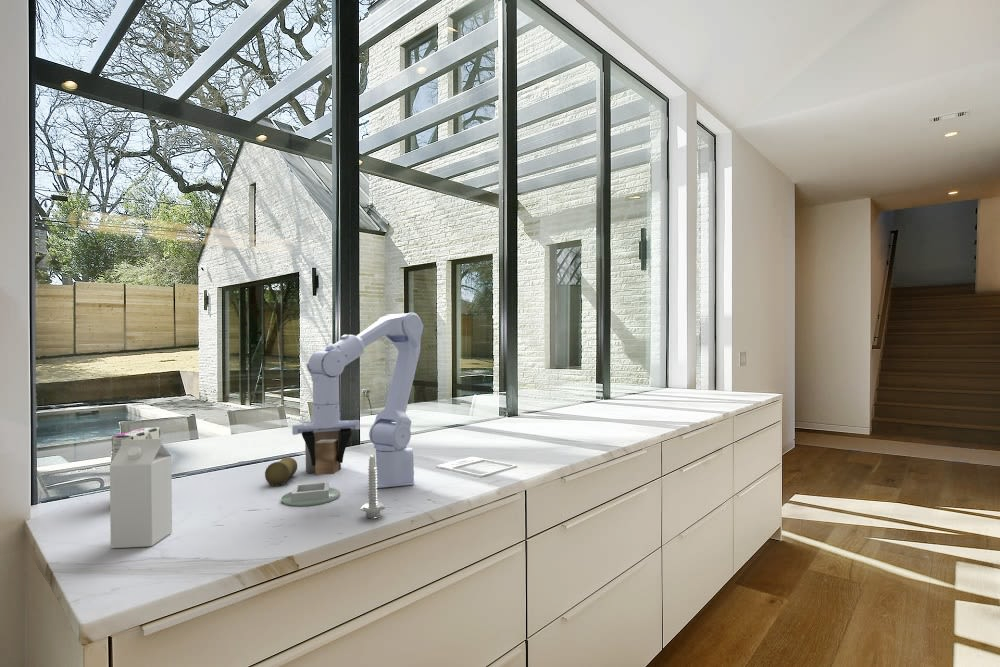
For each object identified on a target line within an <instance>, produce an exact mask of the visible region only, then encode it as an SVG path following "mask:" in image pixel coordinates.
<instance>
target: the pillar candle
mask: <svg viewBox="0 0 1000 667" xmlns="http://www.w3.org/2000/svg"><path fill="white" fill-rule="evenodd" d="M306 423H313V420H311V421H308V422H305V423H304V424H306ZM335 428H336V427H335ZM327 429H332V428H327ZM318 430H320V429H318ZM314 437H315V443H316V442H318V441H320V440H332V439H338V431H327V432H315V433H314ZM304 445H305V446H304V447H305V448H304V449H305V450H304V451H305V453H304V454H305V472H306V473H308V474H313V473H315V474H316V468H315V466H312V463H311V457H310V453H309V450H308V447H307V445H306V443H305V442H304ZM338 450H339V441H338ZM341 469H342V463H339V470H341Z"/></svg>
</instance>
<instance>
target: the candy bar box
mask: <svg viewBox="0 0 1000 667" xmlns="http://www.w3.org/2000/svg"><path fill="white" fill-rule="evenodd" d="M130 439H161V427H158V426H157V427H155V426H154V427H153V426H152V427H139V428H137V429H133V430H129V431H127V432H126V431H125V432H123V433H120V434H117V435H113V436H111V450H112V451H111V454H112V458H111V459H112V461H113V459H114V457H115V456H116V454H117V452H118V450H119V449H120V447H121V440H130ZM112 461H111V462H112Z"/></svg>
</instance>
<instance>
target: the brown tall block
mask: <svg viewBox="0 0 1000 667" xmlns="http://www.w3.org/2000/svg"><path fill="white" fill-rule="evenodd" d="M315 460H316V464H315V468H316V473H315V475H334V474H335V473H337V472H338V471H339V470H340V469H339V461H338V439H332V440H320V441H318V442H316V443H315Z"/></svg>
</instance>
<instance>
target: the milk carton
mask: <svg viewBox="0 0 1000 667" xmlns="http://www.w3.org/2000/svg"><path fill="white" fill-rule="evenodd" d="M162 441H163V440H162V438H160V439H130V440H121V447H120V449H119V450H118V452H117V454H116V456H115V457H114V459H113V461H111V463H110V464H109V498H110V500H109V501H110V502H109V505H110V506H109V507H110V508H109V512H110V513H109V514H110V515H109V516H110V520H109V521H110V548H111V549H121V548H122V549H124V548H144V547H152V546H154V545H155V544H157V543H158V542H160V541H161V540H163V539H164V538H166V537H168V536H169V535H170V534H172V533H173V498H172V496H173V495H172V492H173V491H172V490H173V489H172V488H173V487H172V483H173V482H172V479H173V478H172V475H173V474H172V455H171V454H170V452H169V451H168V450H167V449H166V448H165V446H164V445H163V442H162Z"/></svg>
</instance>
